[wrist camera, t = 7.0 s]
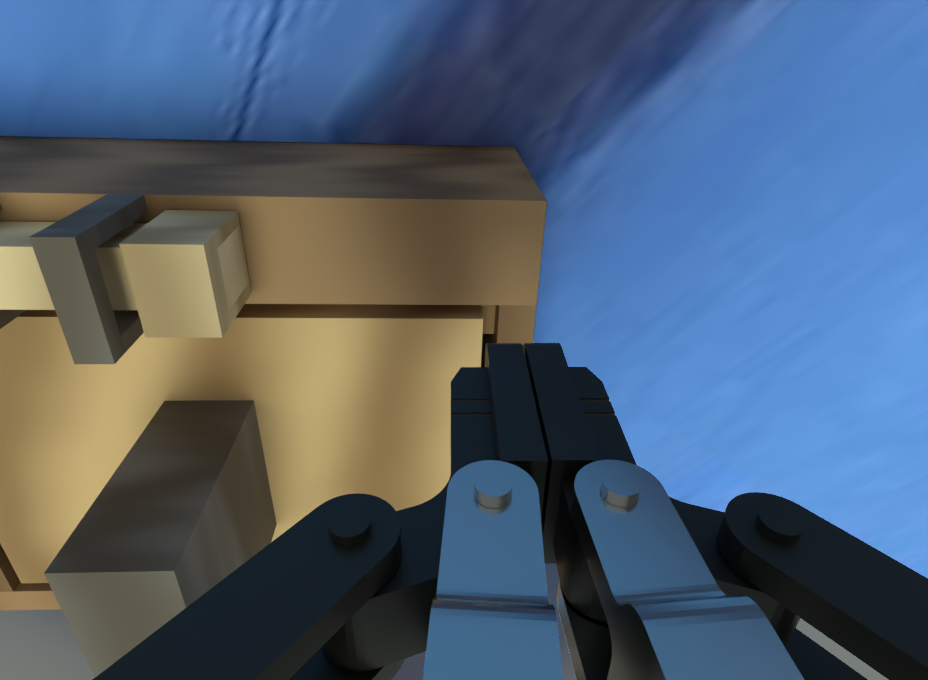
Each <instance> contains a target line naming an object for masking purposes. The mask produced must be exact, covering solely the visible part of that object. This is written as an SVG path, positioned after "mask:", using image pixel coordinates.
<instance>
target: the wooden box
mask: <svg viewBox="0 0 928 680" xmlns="http://www.w3.org/2000/svg"><path fill="white" fill-rule="evenodd" d="M546 206H547V200H546V199H545V197H544V195H543V194H542V192H541V190H540V189H539V187H538V186H537V184H536V182H535V181H534V179H533V177H532V176H531V174H530V172H529V171H528V169H527V168H526V166H525V164H524V163H523V161H522V159H521V158H520V156H519V155H518V153H517V151H516V150H515V148H514V147H493V146H446V145H398V144H350V143H303V142H255V141H207V140H160V139H112V138H64V137H17V136H0V221H15V222H55V223H54V224H52V225H50V226H48V227H46V228H44V229H43V230H41V231H39V232H37V233H35V234H33V235H32V236H30V237H29V238H30V241H31V244H32V247H33V250H34V252H35V255H36V258H37V261H38V264H39V266H40V269H41V272H42V275H43V278H44V280H45V283H46V286H47V289H48V292H49V294H50V297H51V300H52V303H53V306H54V308H55V311H56V314H57V317H58V319H59V322H60V325H61V328H62V331H63V333H64V336H65V339H66V342H67V345H68V347H69V350H70V353H71V356H72V359H73V361H74V364H115V363H116V362H117V361H118V360H119V359H120V358H121V357H122V356H123V355H124V354H125V353H126V351H127V350H128V349H129V348H130V347H131V346H132V345H133V344H134V343H135V342H136V341H137V339H138V338H139V337H140V336H141V335H142V334H143V333H144V331H143V328H142V324H141V320H140V317H139V313H138V310H113V309H112V305H111V302H110V299H109V296H108V292H107V289H106V286H105V282H104V279H103V276H102V272H101V269H100V266H99V263H98V259H97V256H96V253H95V248H97V247H98V246H99V245H101V244H102V243H104V242H105V241H107V240H108V239H110V238H111V237H113V236H114V235H115V234H117V233H118V232H120V231H121V230H123V229H124V228H126V227H127V226H129V225H130V224H131V223H149V222H150V221H151V220H153V219H154V218H155V217H157V216H158V215H160V214H161V213H162V212H164V211H165V210H207V211H238V217H239V223H240V229H241V235H242V240H243V246H244V252H245V258H246V264H247V270H248V276H249V282H250V288H251V295H250V296H249V298H248V299H247V301H246V302H245V304H321V305H481V308H482V314H483V334H482V354H481V367H485V348H486V343H522V346H523V344H524V343H533V335H534V325H535V315H536V305H537V295H538V286H539V276H540V266H541V256H542V246H543V236H544V226H545V216H546ZM25 311H26V310H0V329H1V328H3V327H4V326H5V325H7V324H8V323H10V322H11V321H12V320H14V319H15V318H16V317H18V316H19V315H21V314H22V313H23V312H25ZM41 609H42V610H43V609H44V610H45V609H61V607H60V605H59V603H58V601H57V599H56V597H55V595H54V593H53V591H52V589H51V587H50V585H49V583H21V582H20V580H19V578H18V576H17V574H16V572H15V570H14V568H13V566H12V565H11V563H10V561H9V559H8V557H7V555H6V553H5V551H4V549H3V548H2V546H1V544H0V610H41Z"/></svg>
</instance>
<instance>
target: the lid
mask: <svg viewBox="0 0 928 680" xmlns="http://www.w3.org/2000/svg"><path fill="white" fill-rule="evenodd" d="M482 334H483V314H482V308H481V305H321V304H244V306H243V307H242V309H241V310H240V312H239V313H238V315H237V316H236V318H235V319H234V321H233V322H232V324H231V325H230V327H229V328H228V330H227V331H226V333H225V334H224V336H223V338H164V337H145V335H144V333H143V334H142V335H141V336H140V337H139V338H138V339H137V341H136V342H135V343H134V344H133V345H132V346H131V347H130V348H129V349H128V350H127V351H126V353H125V354H124V355H123V356H122V357H121V358H120V359H119V360H118V361H117V362H116V363H115V364H74V361H73V359H72V356H71V353H70V350H69V347H68V345H67V342H66V339H65V336H64V333H63V331H62V328H61V325H60V322H59V319H58V317H57V314H56V311H55V310H26V311H25V312H23V313H22V314H21V315H19V316H18V317H16V318H15V319H14V320H12V321H11V322H10V323H8V324H7V325H5V326H4V327H3V328H1V329H0V544H1V546H2V548H3V549H4V551H5V553H6V555H7V557H8V559H9V561H10V563H11V565H12V566H13V568H14V570H15V572H16V574H17V576H18V578H19V580H20V582H21V583H49V585H50V587H51V589H52V591H53V593H54V595H55V597H56V599H57V601H58V603H59V605H60V607H61V609H62V611H63V613H64V615H65V618H66V620H67V622H68V624H69V626H70V628H71V630H72V631H73V634H74V636H75V638H76V640H77V642H78V644H79V646H80V648H81V650H82V652H83V654H84V656H85V658H86V660H87V662H88V664H89V666H90V668H91V670H92V672H93V674H94V676H95V677H97V676H98V675H99V674H100V673H102V672H103V671H104V670H106V669H107V668H108V667H110V666H111V665H112V664H113V663H115V662H116V661H117V660H119V659H120V658H121V657H123V656H124V655H125V654H127V653H128V652H129V651H130V650H132V649H133V648H134V647H136V646H137V645H138V644H140V643H141V642H142V641H143V640H145V639H146V638H147V637H149V636H150V635H151V634H153V633H154V632H155V631H156V630H158V629H159V628H160V627H162V626H163V625H164V624H166V623H167V622H168V621H169V620H171V619H172V618H173V617H175V616H176V615H177V614H179V613H180V612H181V611H183V610H184V609H185V608H186V607H188V606H189V605H190V604H192V603H193V602H194V601H196V600H197V599H198V598H199V597H201V596H202V595H203V594H205V593H206V592H207V591H209V590H210V589H211V588H212V587H214V586H215V585H216V584H218V583H219V582H220V581H222V580H223V579H224V578H225V577H227V576H228V575H229V574H231V573H232V572H233V571H235V570H236V569H237V568H239V567H240V566H241V565H242V564H244V563H245V562H246V561H248V560H249V559H250V558H252V557H253V556H254V555H255V554H257V553H258V552H259V551H261V550H262V549H263V548H265V547H266V546H267V545H268V544H270V543H271V542H272V541H274V540H275V539H276V538H278V537H279V536H280V535H282V534H283V533H284V532H285V531H287V530H288V529H289V528H291V527H292V526H293V525H295V524H296V523H297V522H298V521H300V520H301V519H302V518H304V517H305V516H306V515H308V514H309V513H310V512H311V511H313V510H314V509H315V508H317V507H318V506H320V505H321V504H323V503H324V502H326V501H328V500H330V499H332V498H335V497H338V496H342V495H346V494H355V493H359V494H369V495H373V496H376V497H379V498H381V499H383V500H385V501H386V502H388V503H389V504H390V505H391V506H392V507H393V508H394V509H395V510H396V511H399V510H402V509H406V508H409V507H413V506H416V505H419V504H422V503H424V502H426V501H428V500H430V499H432V498H433V497H435V496H436V495H437V494H438V493H440V492H441V491H442V490H443V488H444V487H445V486H446V484H447V482H448V481H449V478H450V475H451V442H450V440H451V381H452V379H453V378H454V376H455V375H456V374H457V372H458V371H459V369H460V368H461V367H481V354H482Z"/></svg>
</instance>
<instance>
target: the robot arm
mask: <svg viewBox="0 0 928 680" xmlns="http://www.w3.org/2000/svg"><path fill="white" fill-rule="evenodd" d="M614 413H615V412H614V409H613V407H612V405H611V402H609V397H608V395H607V393H606V390H605V388H604V385H603V383H602V381H601V380H600V379H599V378H597V377H596V376H595V375H594V374H593V373H592V372H591V371H590V370H588V369H587V368H586V367H568V365H567V362H566V359H565V356H564V353H563V350H562V347H561V345H560V343H524V344H523V346H522V343H486V348H485V367H461V368H460V369H459V371H458V372H457V374H456V375H455V376H454V378H453V379H452V381H451V440H450V442H451V475H450V478H449V481H448V482H447V484H446V486H445V487H444V488H443V490H442V491H441V492H440V493H438V494H437V495H436V496H435V497H433V498H432V499H430V500H428V501H426V502H424V503H422V504H419V505H416V506H413V507H409V508H406V509H402V510H399V511H396V510H395V509H394V508H393V507H392V506H391V505H390V504H389V503H388V502H386V501H385V500H383V499H381V498H379V497H376V496H373V495H369V494H359V493H355V494H346V495H342V496H338V497H335V498H332V499H330V500H328V501H326V502H324V503H323V504H321V505H320V506H318V507H317V508H315V509H314V510H313V511H311V512H310V513H309V514H308V515H306V516H305V517H304V518H302V519H301V520H300V521H298V522H297V523H296V524H295V525H293V526H292V527H291V528H289V529H288V530H287V531H285V532H284V533H283V534H282V535H280V536H279V537H278V538H276V539H275V540H274V541H272V542H271V543H270V544H268V545H267V546H266V547H265V548H263V549H262V550H261V551H259V552H258V553H257V554H255V555H254V556H253V557H252V558H250V559H249V560H248V561H246V562H245V563H244V564H242V565H241V566H240V567H239V568H237V569H236V570H235V571H233V572H232V573H231V574H229V575H228V576H227V577H225V578H224V579H223V580H222V581H220V582H219V583H218V584H216V585H215V586H214V587H212V588H211V589H210V590H209V591H207V592H206V593H205V594H203V595H202V596H201V597H199V598H198V599H197V600H196V601H194V602H193V603H192V604H190V605H189V606H188V607H186V608H185V609H184V610H183V611H181V612H180V613H179V614H177V615H176V616H175V617H173V618H172V619H171V620H169V621H168V622H167V623H166V624H164V625H163V626H162V627H160V628H159V629H158V630H156V631H155V632H154V633H153V634H151V635H150V636H149V637H147V638H146V639H145V640H143V641H142V642H141V643H140V644H138V645H137V646H136V647H134V648H133V649H132V650H130V651H129V652H128V653H127V654H125V655H124V656H123V657H121V658H120V659H119V660H117V661H116V662H115V663H113V664H112V665H111V666H110V667H108V668H107V669H106V670H104V671H103V672H102V673H100V674H99V675H98V676H97V677H95V678H94V679H93V680H391V679H392V678H393V677H394V676H395V674H396V673H397V672H398V670H399V669H400V668H401V666H402V664H403V662H404V659H405V658H407V657H410V656H413V655H416V654H418V653H421V652H424V651H426V658H425V665H424V674H423V680H563V677H562V666H561V656H560V646H559V636H558V626H557V618H556V612H555V608H554V606H553V605H552V604H549V603H548V596H547V585H546V573H545V563H556V564H557V569H558V574H559V579H560V581H559V587H558V593H557V606H558V611H559V615H560V619H561V622H562V626H563V630H564V634H565V637H566V641H567V645H568V649H569V652H570V656H571V660H572V663H573V667H574V671H575V675H576V679H577V680H867V679H866V678H864V677H863V676H862V675H860V674H859V673H858V672H856V671H855V670H853V669H852V668H850V667H849V666H848V665H846V664H845V663H843V662H842V661H841V660H839V659H838V658H837V657H835V656H834V655H832V654H831V653H829V652H828V651H827V650H825V649H824V648H823V647H821V646H820V645H818V644H817V643H816V642H814V641H813V640H811V639H810V638H809V637H807V636H806V635H804V634H803V633H802V632H800V631H799V630H797V629H796V626H797V624H798V622H799V620H800V618H802V619H803V620H804V621H806V622H807V623H809V624H810V625H812V626H813V627H814V628H816V629H817V630H819V631H820V632H822V633H823V634H824V635H826V636H827V637H829V638H830V639H832V640H833V641H835V642H836V643H837V644H839V645H840V646H842V647H843V648H845V649H846V650H847V651H849V652H850V653H852V654H853V655H855V656H856V657H857V658H859V659H860V660H862V661H863V662H865V663H866V664H868V665H869V666H870V667H872V668H873V669H875V670H876V671H877V672H879V673H880V674H882V675H883V676H885V677H886V678H888V679H889V680H928V579H927V578H926V577H924V576H922V575H920V574H919V573H917V572H915V571H913V570H912V569H910V568H908V567H906V566H905V565H903V564H901V563H899V562H898V561H896V560H894V559H892V558H891V557H889V556H887V555H885V554H884V553H882V552H880V551H878V550H877V549H875V548H873V547H871V546H870V545H868V544H866V543H865V542H863V541H861V540H859V539H858V538H856V537H854V536H852V535H851V534H849V533H847V532H845V531H844V530H842V529H840V528H838V527H837V526H835V525H833V524H831V523H830V522H828V521H826V520H824V519H823V518H821V517H819V516H817V515H816V514H814V513H812V512H810V511H809V510H807V509H805V508H803V507H802V506H800V505H798V504H796V503H794V502H792V501H790V500H787V499H785V498H783V497H779V496H776V495H772V494H767V493H757V492H756V493H746V494H741V495H739V496H736V497H735V498H733V499H732V500H731V501H730V502H729V504H728V505H727V508H726V511H725V512H720V511H716V510H712V509H708V508H703V507H699V506H695V505H691V504H687V503H684V502H680V501H678V500H675V499H673V498H671V497H669V496H668V495H667V493H666V491H665V489H664V487H663V486H662V485H661V483H660V482H659V481H658V480H657V479H656V477H654V476H653V475H652V474H651V473H650V472H648V471H646V470H645V469H643V468H641V467H639V466H637V465H636V463H635V460H634V458H633V455H632V453H631V451H630V448H629V446H628V443H627V441H626V439H625V436H624V434H623V431H622V429H621V426H620V424H619V422H618V419H617V417H616V416H615V414H614Z"/></svg>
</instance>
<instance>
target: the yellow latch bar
mask: <svg viewBox="0 0 928 680" xmlns="http://www.w3.org/2000/svg"><path fill="white" fill-rule="evenodd" d="M54 223H55V222H15V221H0V310H55V308H54V306H53V303H52V300H51V297H50V294H49V292H48V289H47V286H46V283H45V280H44V278H43V275H42V272H41V269H40V266H39V264H38V261H37V258H36V255H35V252H34V250H33V247H32V244H31V241H30V238H29V237H30V236H32V235H33V234H35V233H37V232H39V231H41V230H43V229H44V228H46V227H48V226H50V225H52V224H54ZM95 253H96V256H97V259H98V263H99V266H100V269H101V272H102V276H103V279H104V282H105V286H106V289H107V292H108V296H109V299H110V302H111V305H112V309H113V310H138V313H139V317H140V320H141V324H142V328H143V331H144V335H145V337H164V338H223V336H224V334H225V333H226V331H227V330H228V328H229V327H230V325H231V324H232V322H233V321H234V319H235V318H236V316H237V315H238V313H239V312H240V310H241V309H242V307H243V306H244V304H245V302H246V301H247V299H248V298H249V296H250V295H251V288H250V282H249V276H248V270H247V264H246V258H245V252H244V246H243V240H242V235H241V229H240V223H239V217H238V211H207V210H165V211H164V212H162V213H161V214H160V215H158V216H157V217H155V218H154V219H153V220H151V221H150V222H149V223H131V224H130V225H129V226H127V227H126V228H124V229H123V230H121V231H120V232H118V233H117V234H115V235H114V236H113V237H111V238H110V239H108V240H107V241H105V242H104V243H102V244H101V245H99V246H98V247H97V248H95Z"/></svg>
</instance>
